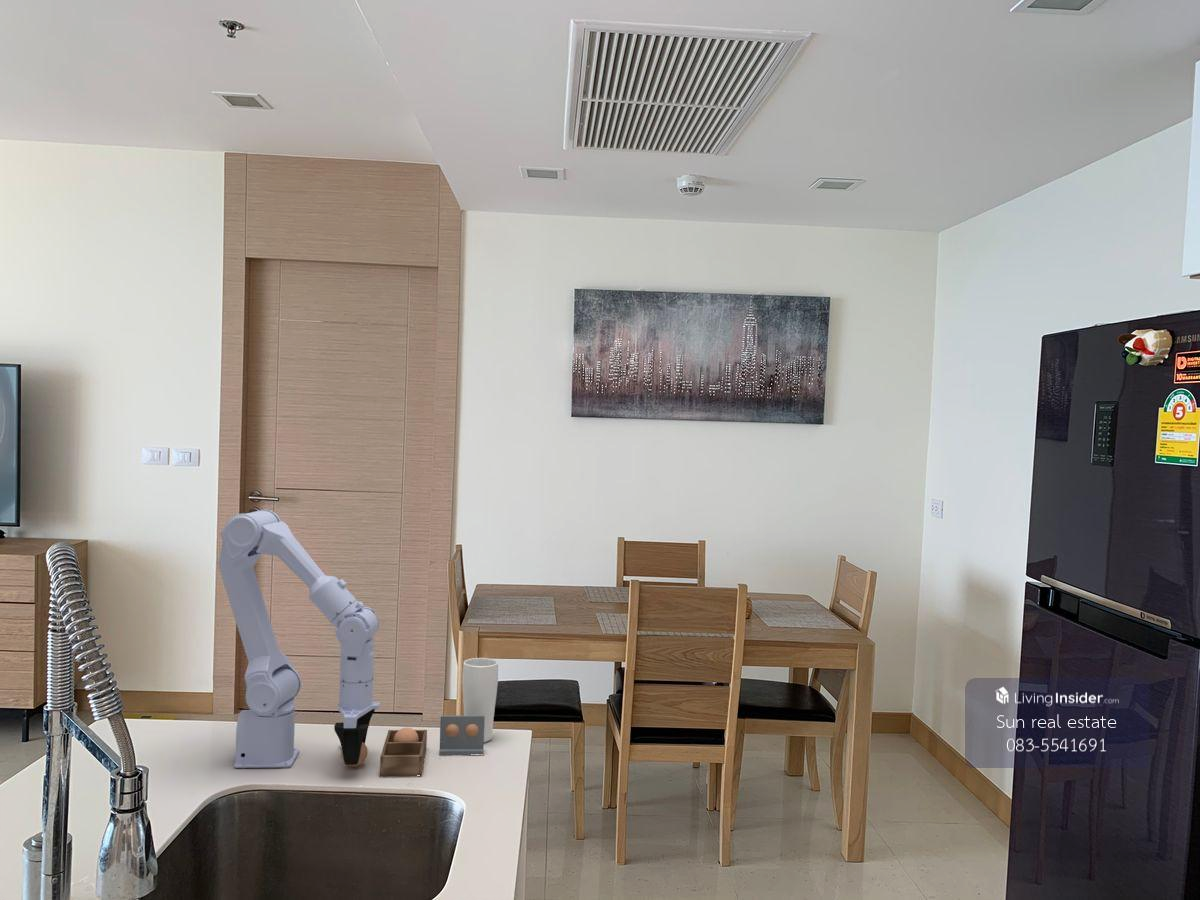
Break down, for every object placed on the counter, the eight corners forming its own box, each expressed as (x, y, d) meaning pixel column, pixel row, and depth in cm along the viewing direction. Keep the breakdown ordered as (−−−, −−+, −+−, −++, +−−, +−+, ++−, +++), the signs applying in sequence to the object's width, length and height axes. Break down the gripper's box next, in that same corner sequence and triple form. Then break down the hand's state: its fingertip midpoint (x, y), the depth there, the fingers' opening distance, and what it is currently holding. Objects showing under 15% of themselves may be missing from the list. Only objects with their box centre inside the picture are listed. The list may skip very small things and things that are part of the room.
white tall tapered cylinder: (478, 748, 171) (480, 668, 171) (452, 739, 175) (455, 661, 175) (503, 739, 177) (505, 662, 176) (478, 731, 181) (480, 655, 180)
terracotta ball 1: (338, 770, 158) (339, 744, 158) (342, 761, 162) (343, 736, 162) (365, 770, 158) (366, 744, 158) (368, 760, 163) (369, 735, 163)
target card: (439, 755, 167) (440, 718, 166) (439, 749, 170) (441, 713, 169) (483, 755, 168) (484, 718, 167) (483, 749, 171) (484, 713, 170)
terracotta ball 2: (391, 757, 164) (392, 732, 163) (394, 748, 168) (395, 724, 168) (417, 757, 164) (418, 732, 164) (419, 748, 169) (420, 724, 168)
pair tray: (379, 776, 156) (380, 756, 156) (387, 748, 169) (388, 730, 169) (421, 776, 157) (422, 756, 156) (426, 748, 170) (427, 729, 170)
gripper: (375, 690, 153) (372, 771, 154) (384, 667, 168) (382, 741, 168) (331, 690, 152) (329, 771, 153) (344, 667, 167) (343, 741, 167)
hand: (354, 755), depth 160 cm, fingers open, 7 cm apart
